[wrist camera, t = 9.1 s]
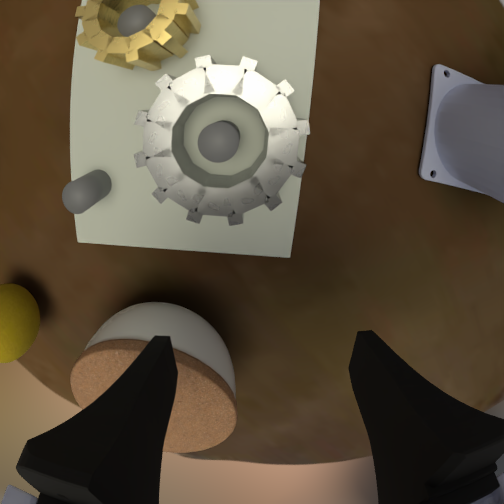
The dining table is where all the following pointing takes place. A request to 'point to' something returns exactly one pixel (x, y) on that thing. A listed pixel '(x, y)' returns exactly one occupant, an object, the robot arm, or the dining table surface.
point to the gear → (195, 178)
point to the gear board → (187, 129)
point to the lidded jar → (188, 365)
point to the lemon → (17, 321)
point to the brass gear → (143, 42)
